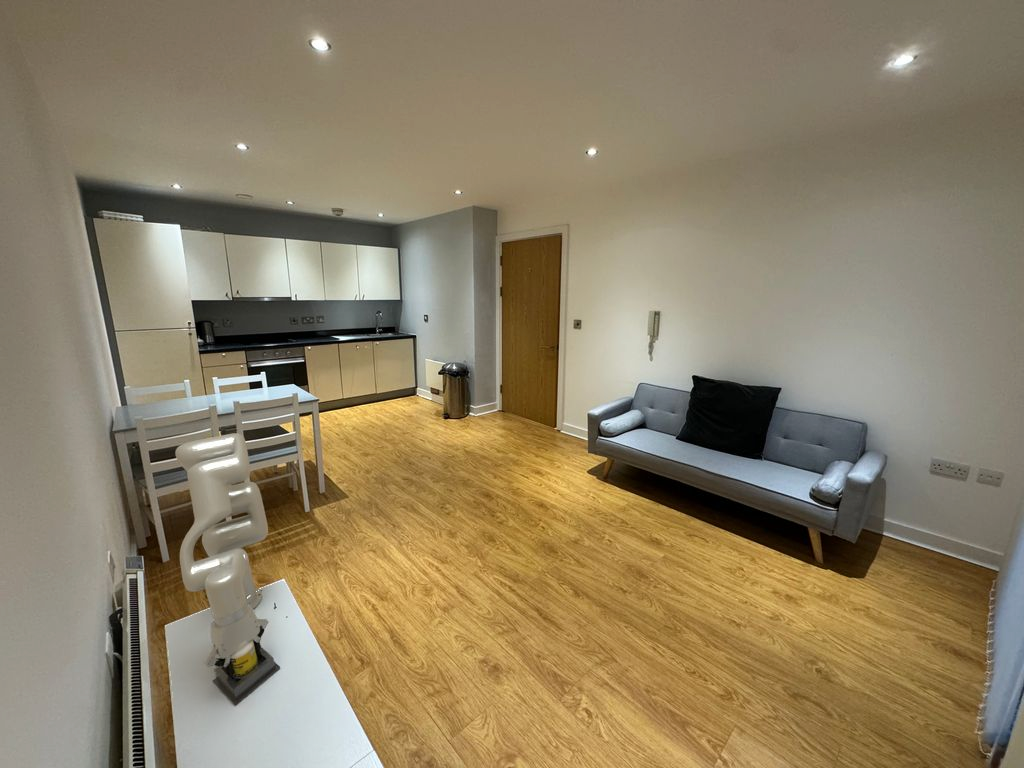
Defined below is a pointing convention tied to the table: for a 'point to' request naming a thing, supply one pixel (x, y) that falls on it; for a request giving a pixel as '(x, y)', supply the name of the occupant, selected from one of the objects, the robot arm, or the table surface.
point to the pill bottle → (244, 659)
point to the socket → (245, 678)
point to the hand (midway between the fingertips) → (243, 661)
